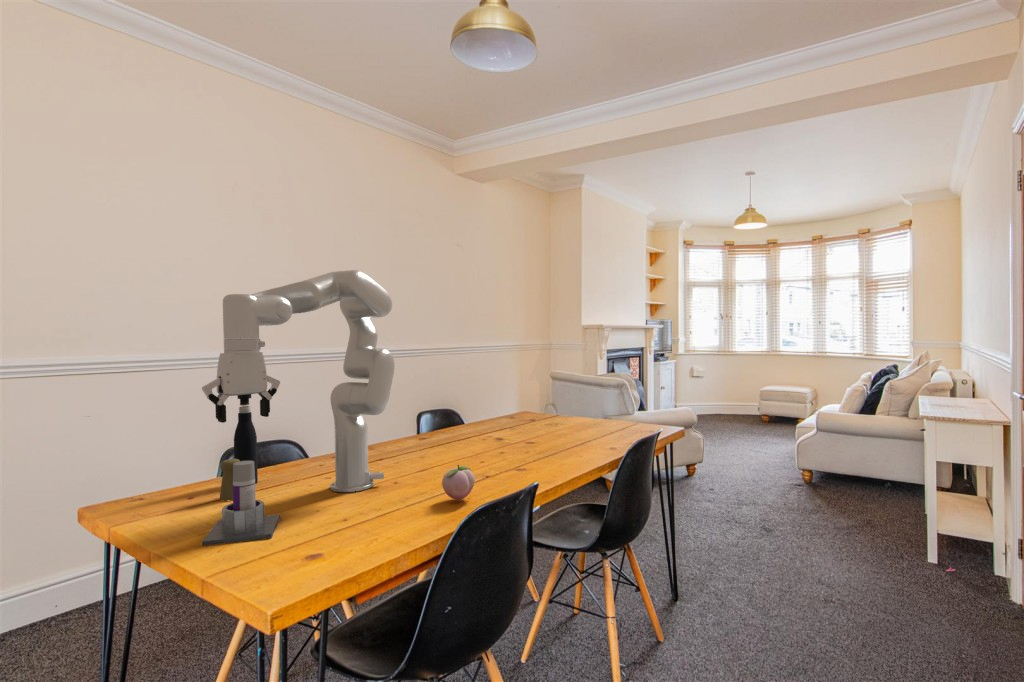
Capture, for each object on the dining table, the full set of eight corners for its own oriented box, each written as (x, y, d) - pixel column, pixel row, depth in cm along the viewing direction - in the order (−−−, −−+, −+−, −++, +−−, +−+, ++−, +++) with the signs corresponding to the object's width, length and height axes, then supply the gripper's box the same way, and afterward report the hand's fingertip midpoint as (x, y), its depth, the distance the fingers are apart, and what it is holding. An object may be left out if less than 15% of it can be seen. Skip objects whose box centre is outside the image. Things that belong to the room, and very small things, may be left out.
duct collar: (280, 517, 132) (280, 494, 132) (271, 538, 119) (270, 511, 119) (218, 524, 129) (218, 499, 129) (201, 545, 115) (201, 518, 115)
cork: (233, 501, 147) (232, 462, 146) (214, 500, 148) (213, 461, 148) (248, 495, 152) (247, 457, 152) (230, 494, 154) (229, 456, 154)
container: (231, 526, 124) (230, 462, 124) (253, 521, 127) (252, 459, 127) (236, 531, 121) (234, 466, 121) (258, 526, 124) (257, 462, 124)
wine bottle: (230, 485, 163) (227, 388, 163) (247, 480, 169) (245, 386, 169) (245, 487, 161) (243, 389, 160) (262, 481, 167) (260, 387, 166)
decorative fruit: (454, 494, 150) (453, 459, 150) (479, 497, 146) (478, 462, 146) (435, 504, 142) (434, 467, 141) (461, 507, 138) (461, 470, 138)
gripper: (271, 345, 133) (273, 413, 133) (195, 347, 120) (197, 422, 120) (285, 345, 128) (287, 415, 128) (207, 348, 115) (210, 426, 115)
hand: (243, 419), depth 124 cm, fingers open, 9 cm apart
